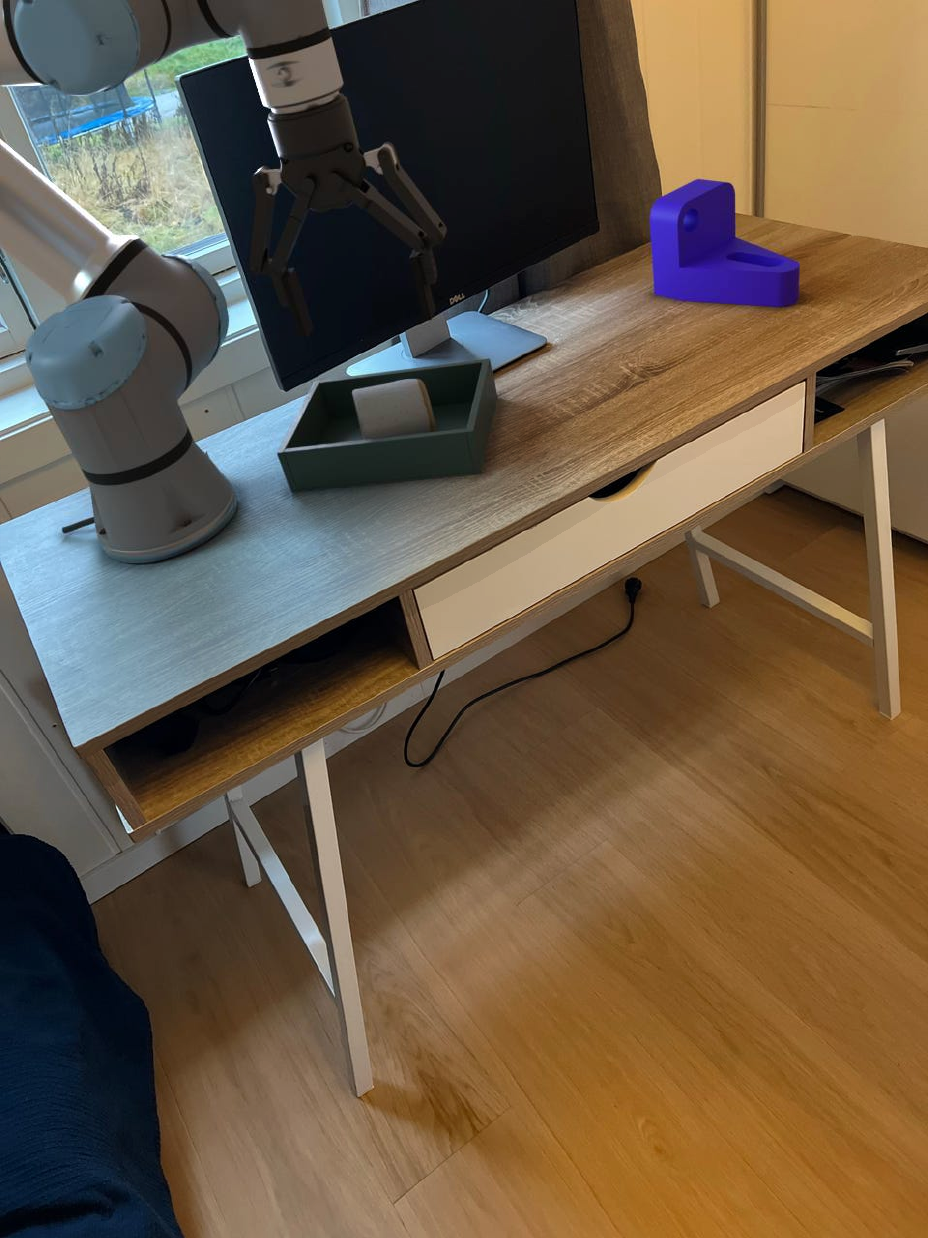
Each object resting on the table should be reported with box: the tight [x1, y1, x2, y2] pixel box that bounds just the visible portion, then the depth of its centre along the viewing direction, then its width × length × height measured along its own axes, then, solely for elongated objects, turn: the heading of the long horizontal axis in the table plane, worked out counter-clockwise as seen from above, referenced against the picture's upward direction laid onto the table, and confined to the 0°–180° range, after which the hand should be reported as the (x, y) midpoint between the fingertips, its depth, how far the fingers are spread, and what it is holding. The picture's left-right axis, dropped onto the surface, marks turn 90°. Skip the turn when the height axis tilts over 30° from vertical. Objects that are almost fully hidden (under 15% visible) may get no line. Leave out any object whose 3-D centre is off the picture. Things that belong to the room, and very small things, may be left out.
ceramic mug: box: [352, 379, 436, 440], centre depth 104 cm, size 11×8×8 cm
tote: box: [276, 357, 498, 493], centre depth 105 cm, size 22×17×5 cm
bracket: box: [649, 178, 801, 308], centre depth 116 cm, size 18×11×12 cm, turn 38°
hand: (367, 324), depth 97 cm, fingers open, 13 cm apart
